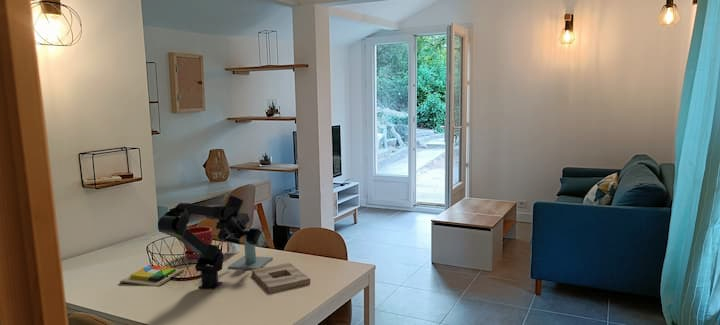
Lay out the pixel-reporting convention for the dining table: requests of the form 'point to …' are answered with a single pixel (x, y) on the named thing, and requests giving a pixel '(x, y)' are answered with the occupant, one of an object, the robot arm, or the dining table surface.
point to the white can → (232, 248)
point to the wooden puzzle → (152, 275)
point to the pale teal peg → (249, 252)
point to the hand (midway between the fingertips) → (248, 244)
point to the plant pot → (202, 234)
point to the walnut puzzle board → (290, 281)
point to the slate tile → (243, 265)
